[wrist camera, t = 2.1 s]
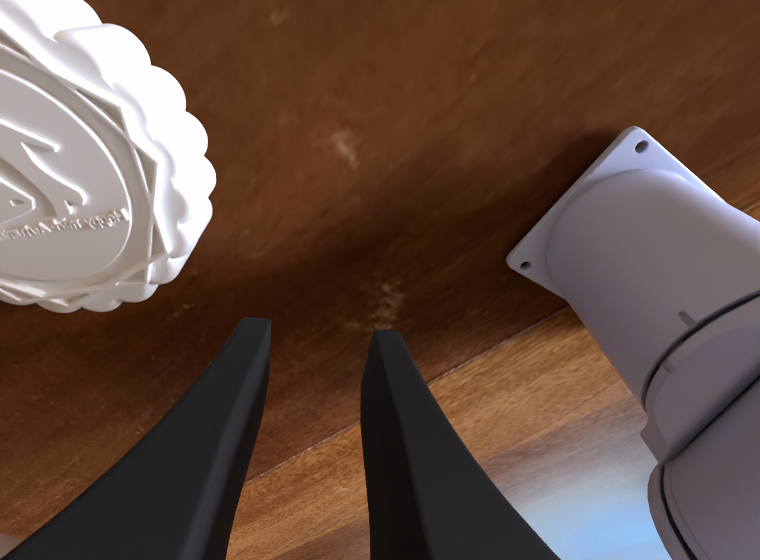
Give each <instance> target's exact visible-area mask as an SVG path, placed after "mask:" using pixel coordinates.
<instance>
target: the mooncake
mask: <svg viewBox="0 0 760 560" xmlns="http://www.w3.org/2000/svg"><path fill="white" fill-rule="evenodd" d="M185 106H186V101H185V96H184V92H183V90H182V88H181V86H180V85H179V83H178V82H177V81H176V79H175V78H174V77H173V76H172V75H170V74H169V73H168V72H166V71H165V70H163V69H161V68H158V67H155V66H151V64H150V59H149V56H148V53H147V51H146V49H145V48H144V46H143V44H142V43H141V42H140V41H139V39H138V38H137V37H136V36H135V35H133V34H132V33H131V32H129V31H128V30H126V29H124V28H123V27H120V26H117V25H113V24H102V23H101V21H100V19H99V18H98V16H97V14H96V13H95V12H94V10H93V9H92V8H91V7H90V6H89V5H88V4H87V3H86V2H84V1H83V0H0V300H2V301H5V302H7V303H11V304H15V305H29V304H33V303H37V304H38V305H40V306H42V307H43V308H45V309H47V310H50V311H53V312H58V313H69V312H73V311H76V310H78V309H80V308H81V307H83V308H85V309H88V310H91V311H96V312H107V311H111V310H113V309H115V308H117V307H118V306H119V305H120V304H121V303H122V302H123V301H126V302H140V301H143V300H146V299H148V298H149V297H150V296H151V295H152V294H153V293H154V291H155V290H156V288H157V287H158V285H159V284H165V283H168V282H170V281H172V280H173V279H174V278H175V277H176V276H177V275H178V274H179V272H180V270H181V269H182V267H183V265H184V264H185V262H186V260H187V259H188V257H189V255H190V254H191V252H192V250H193V249H194V247H195V245H196V244H197V241H198V239H199V237H200V235H201V234H202V232H203V231H204V229H205V227H206V226H207V224H208V222H209V221H210V219H211V216H212V206H211V203H210V201H209V199H208V196H209V195H210V193H211V192H212V190H213V189H214V187H215V183H216V175H215V171H214V168H213V167H212V165H211V163H210V162H209V161H208V160H207V159H206V158H205V157H204V156H203V155H204V154H205V152H206V149H207V135H206V132H205V130H204V128H203V126H202V125H201V123H200V122H199V121H198V120H197V119H196V118H195V117H194V116H192V115H191V114H189V113H187V112H185Z"/></svg>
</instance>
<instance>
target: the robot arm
mask: <svg viewBox="0 0 760 560" xmlns="http://www.w3.org/2000/svg"><path fill="white" fill-rule="evenodd" d="M640 141H642V145H641V146H640V147H639V148H638V149H637V150H635V146H636V145H637V143H639V142H640ZM506 262H507V264H508V266H509V267H510V268H511V269H513V270H515V271H516V272H518V273H520V274H522V275H523V276H525V277H527V278H529V279H530V280H532V281H534V282H536V283H537V284H539V285H541V286H543V287H544V288H546V289H548V290H550V291H551V292H553V293H555V294H556V295H558V296H560V297H562V298H563V299H565V300H567V301H568V303H569V304H570V305H571V307H572V308H573V310H574V311H575V313H576V314H577V315H578V317H579V318H580V320H581V321H582V322H583V324H584V325H585V327H586V328H587V330H588V331H589V332H590V334H591V335H592V337H593V338H594V340H595V341H596V342H597V344H598V345H599V347H600V348H601V350H602V351H603V352H604V354H605V355H606V357H607V358H608V359H609V361H610V362H611V364H612V365H613V367H614V368H615V369H616V371H617V372H618V374H619V375H620V377H621V378H622V379H623V381H624V382H625V384H626V385H627V387H628V388H629V389H630V391H631V392H632V394H633V395H634V396H635V398H636V399H637V401H638V402H639V404H640V405H641V406H642V408H643V409H644V411H645V412H646V413H647V416H648V422H647V424H646V426H645V428H644V429H643V430H642V432H641V434H640V435H641V437H642V438H643V440H644V441H645V443H646V445H647V446H648V448H649V449H650V451H651V452H652V454H653V455H654V457H655V458H656V460H657V461H658V464H657V465H656V466H655V468H654V470H653V471H652V473H651V475H650V479H649V483H648V503H649V508H650V513H651V516H652V519H653V522H654V525H655V527H656V530H657V532H658V534H659V536H660V538H661V540H662V542H663V544H664V547H665V548H666V550H667V552H668V553H669V555H670V557H671V558H672V560H760V222H759V221H757V220H755V219H753V218H752V217H750V216H748V215H746V214H744V213H743V212H741V211H739V210H737V209H736V208H734V207H732V206H730V205H728V204H727V203H726V202H725V201H723V200H722V199H721V198H720V197H719V196H718V195H717V194H716V193H714V192H713V191H712V190H711V189H710V188H709V187H708V186H706V185H705V184H704V183H703V182H702V181H701V180H700V179H699V178H697V177H696V176H695V175H694V174H693V173H692V172H691V171H689V170H688V169H687V168H686V167H685V166H684V165H683V164H681V163H680V162H679V161H678V160H677V159H676V158H675V157H674V156H672V155H671V154H670V153H669V152H668V151H667V150H666V149H664V148H663V147H662V146H661V145H660V144H659V143H658V142H656V141H655V140H654V139H653V138H652V137H651V136H650V135H649V134H647V133H646V132H645V131H644V130H642V129H640V128H638V127H636V126H631V127H628V128H626V129H625V130H624V131H622V132H621V134H620V135H619V136H618V137H617V138H616V139H615V140H614V141H613V142H612V143H611V144H610V145H609V146H608V147H607V149H606V150H605V151H604V152H603V153H602V154H601V155H600V156H599V157H598V158H597V159H596V160H595V161H594V163H593V164H592V165H591V166H590V167H589V168H588V169H587V170H586V171H585V172H584V173H583V174H582V175H581V177H580V178H579V179H578V180H577V181H576V182H575V183H574V184H573V185H572V186H571V187H570V188H569V189H568V191H567V192H566V193H565V194H564V195H563V196H562V197H561V198H560V199H559V200H558V201H557V202H556V203H555V205H554V206H553V207H552V208H551V209H550V210H549V211H548V212H547V213H546V214H545V215H544V216H543V217H542V219H541V220H540V221H539V222H538V223H537V224H536V225H535V226H534V227H533V228H532V229H531V230H530V231H529V233H528V234H527V235H526V236H525V237H524V238H523V239H522V240H521V241H520V242H519V243H518V244H517V245H516V247H515V248H514V249H513V250H512V251H511V252H510V253H509V254H508V256H507V258H506ZM523 262H527V264H526V265H524V266H520V265H521V264H522V263H523ZM270 341H271V319H260V318H250V317H244V318H243V319H241V320H240V321H239V323H238V324H237V326H236V328H235V329H234V331H233V332H232V334H231V335H230V337H229V338H228V339H227V341H226V342H225V344H224V345H223V346H222V348H221V349H220V350H219V352H218V353H217V354H216V356H215V357H214V358H213V359H212V361H211V362H210V363H209V364H208V366H207V367H206V368H205V369H204V370H203V372H202V373H201V374H200V375H199V377H198V378H197V379H196V380H195V381H194V383H193V384H192V385H191V386H190V387H189V389H188V390H187V391H186V392H185V393H184V394H183V395H182V396H181V397H180V399H179V400H178V401H177V402H176V403H175V404H174V405H173V406H172V407H171V408H170V409H169V410H168V412H167V413H166V414H165V415H164V416H163V417H162V418H161V419H160V420H159V421H158V422H157V423H156V424H155V425H154V426H153V427H152V428H151V429H150V430H149V431H148V433H147V434H146V435H145V436H144V437H143V438H141V439H140V440H139V441H138V442H137V443H136V444H135V445H134V446H133V447H132V448H131V449H130V450H129V451H128V452H127V453H126V454H125V455H124V456H123V457H122V458H121V459H120V460H119V461H117V462H116V463H115V464H114V465H113V466H112V467H111V468H110V469H109V470H108V471H106V472H105V473H104V474H103V475H102V476H101V477H100V478H98V479H97V480H96V481H95V482H94V483H93V484H92V485H91V486H89V487H88V488H87V489H86V490H85V491H84V492H83V493H82V494H80V495H79V496H78V497H77V498H76V499H75V500H73V501H72V502H71V503H70V504H69V505H67V506H66V507H65V508H64V509H63V510H62V511H60V512H59V513H58V514H57V515H56V516H54V517H53V518H52V519H51V520H49V521H48V522H47V523H46V524H44V525H43V526H42V527H41V528H39V529H38V530H37V531H35V532H34V533H33V534H32V535H30V536H29V537H28V538H27V539H25V540H24V541H23V542H21V543H20V544H19V545H18V546H16V547H15V548H14V549H13V550H11V551H10V552H9V553H8V554H6V555H5V556H4V557H3V558H1V559H0V560H225V559H226V554H227V548H228V543H229V538H230V533H231V529H232V525H233V521H234V516H235V512H236V509H237V505H238V502H239V498H240V494H241V491H242V487H243V484H244V480H245V477H246V473H247V470H248V466H249V463H250V459H251V455H252V452H253V448H254V445H255V441H256V438H257V434H258V431H259V427H260V423H261V420H262V415H263V410H264V404H265V398H266V392H267V386H268V381H269V365H270ZM360 423H361V435H362V446H363V457H364V467H365V478H366V488H367V499H368V509H369V524H370V560H561V559H560V558H559V557H558V556H557V555H556V554H555V553H554V552H553V551H552V550H551V549H550V548H549V547H548V546H547V544H546V543H545V542H544V541H543V540H542V539H541V538H540V537H539V536H538V534H537V533H536V532H535V531H534V530H533V529H532V528H531V527H530V526H529V524H528V523H527V522H526V521H525V520H524V519H523V518H522V517H521V516H520V514H519V513H518V512H517V511H516V510H515V509H514V508H513V507H512V505H511V504H510V503H509V502H508V501H507V499H506V498H505V497H504V496H503V495H502V493H501V492H500V491H499V490H498V488H497V487H496V486H495V485H494V483H493V482H492V481H491V480H490V478H489V477H488V476H487V475H486V473H485V472H484V471H483V469H482V468H481V467H480V465H479V464H478V463H477V461H476V460H475V459H474V457H473V456H472V455H471V453H470V452H469V450H468V449H467V448H466V446H465V445H464V443H463V442H462V441H461V439H460V438H459V436H458V435H457V433H456V432H455V430H454V429H453V427H452V426H451V424H450V423H449V421H448V419H447V418H446V416H445V415H444V413H443V411H442V410H441V408H440V407H439V405H438V403H437V402H436V400H435V398H434V396H433V395H432V393H431V391H430V390H429V388H428V386H427V385H426V383H425V381H424V379H423V377H422V376H421V374H420V372H419V370H418V368H417V366H416V364H415V362H414V360H413V359H412V357H411V355H410V353H409V351H408V348H407V346H406V344H405V342H404V340H403V338H402V336H401V334H400V333H399V332H398V331H389V330H378V329H374V331H373V336H372V340H371V344H370V348H369V353H368V357H367V361H366V365H365V370H364V374H363V378H362V382H361V419H360Z"/></svg>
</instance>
